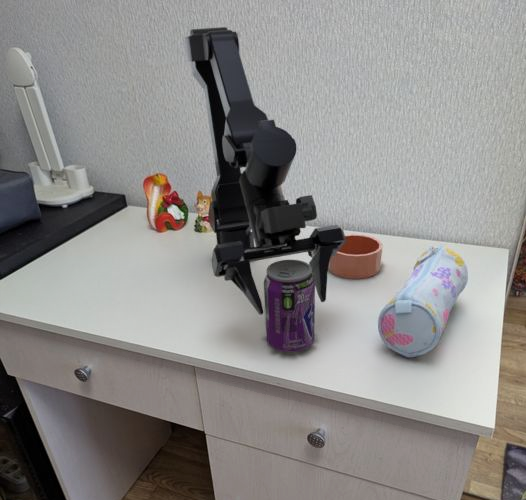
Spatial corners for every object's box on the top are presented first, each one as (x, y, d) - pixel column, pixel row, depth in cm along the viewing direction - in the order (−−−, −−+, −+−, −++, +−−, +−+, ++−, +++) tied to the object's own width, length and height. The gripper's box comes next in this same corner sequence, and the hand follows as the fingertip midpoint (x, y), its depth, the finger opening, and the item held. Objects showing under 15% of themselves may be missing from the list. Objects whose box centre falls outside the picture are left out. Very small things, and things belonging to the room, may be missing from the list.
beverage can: (300, 361, 70) (299, 285, 63) (257, 347, 73) (252, 274, 66) (322, 336, 74) (324, 264, 68) (281, 324, 78) (279, 254, 71)
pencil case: (411, 289, 85) (419, 237, 79) (464, 300, 81) (476, 246, 76) (371, 353, 70) (377, 295, 65) (433, 369, 67) (445, 309, 61)
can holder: (323, 276, 91) (324, 253, 88) (332, 254, 98) (333, 232, 96) (377, 281, 88) (380, 257, 86) (382, 258, 96) (384, 236, 93)
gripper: (206, 185, 61) (235, 303, 59) (343, 166, 65) (376, 276, 63) (201, 224, 72) (226, 326, 70) (319, 206, 76) (346, 301, 74)
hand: (293, 307), depth 69 cm, fingers open, 9 cm apart
